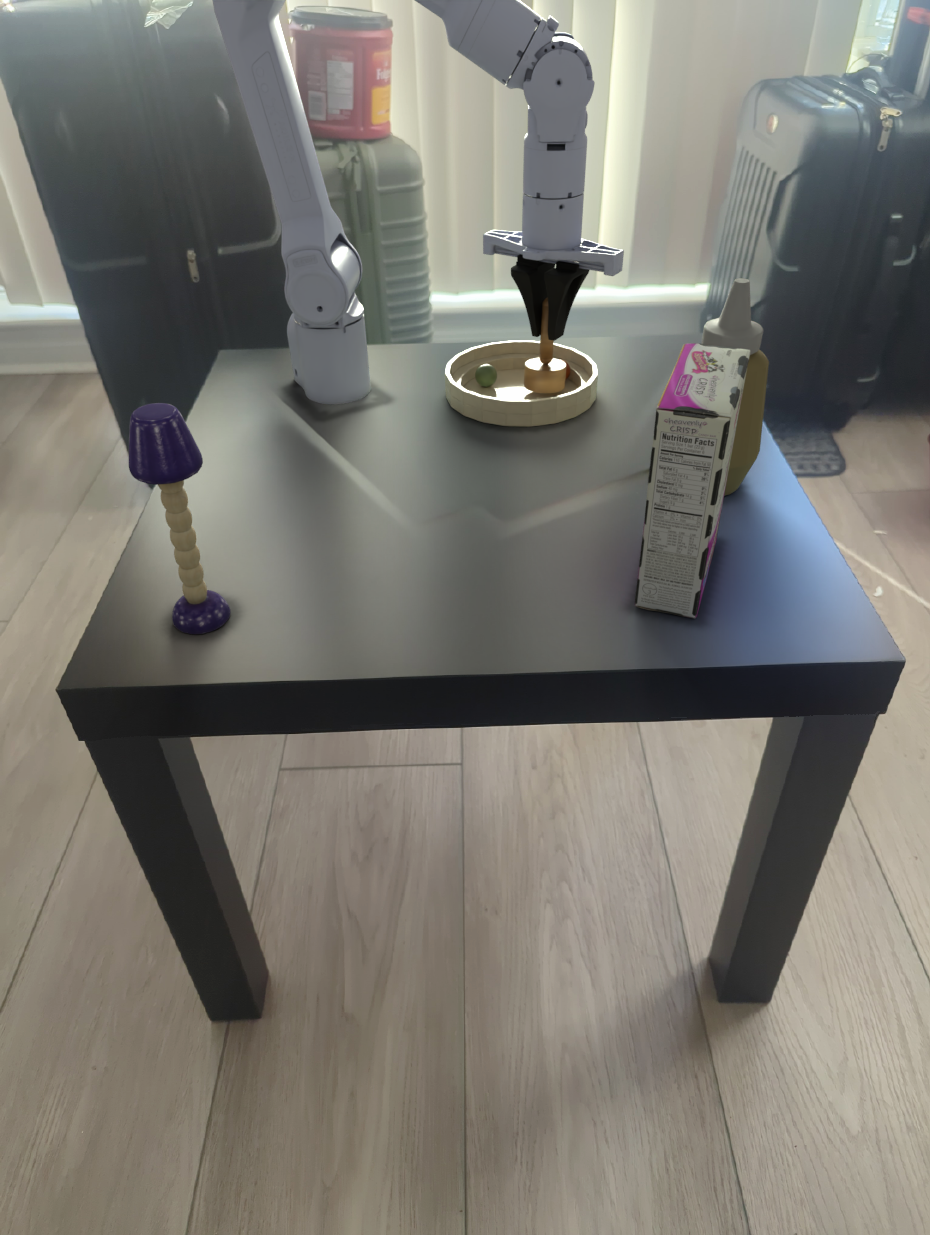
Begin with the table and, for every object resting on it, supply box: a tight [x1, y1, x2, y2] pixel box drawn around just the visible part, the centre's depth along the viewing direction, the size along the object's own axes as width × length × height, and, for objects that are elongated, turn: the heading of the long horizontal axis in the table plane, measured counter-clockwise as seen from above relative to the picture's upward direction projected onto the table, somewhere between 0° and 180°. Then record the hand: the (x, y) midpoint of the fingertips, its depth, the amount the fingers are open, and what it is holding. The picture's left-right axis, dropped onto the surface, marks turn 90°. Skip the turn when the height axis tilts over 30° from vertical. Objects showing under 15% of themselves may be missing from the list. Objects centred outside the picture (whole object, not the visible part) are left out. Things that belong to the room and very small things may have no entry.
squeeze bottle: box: [700, 277, 770, 497], centre depth 72 cm, size 8×8×18 cm
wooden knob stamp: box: [524, 297, 566, 393], centre depth 89 cm, size 4×4×9 cm
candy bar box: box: [634, 342, 750, 619], centre depth 62 cm, size 11×5×16 cm, turn 160°
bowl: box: [444, 340, 599, 427], centre depth 91 cm, size 16×16×4 cm
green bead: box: [475, 364, 497, 387], centre depth 93 cm, size 2×2×2 cm
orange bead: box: [561, 360, 571, 380], centre depth 93 cm, size 2×2×2 cm
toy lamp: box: [128, 402, 232, 635], centre depth 59 cm, size 5×5×17 cm
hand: (547, 335), depth 88 cm, fingers closed on wooden knob stamp
